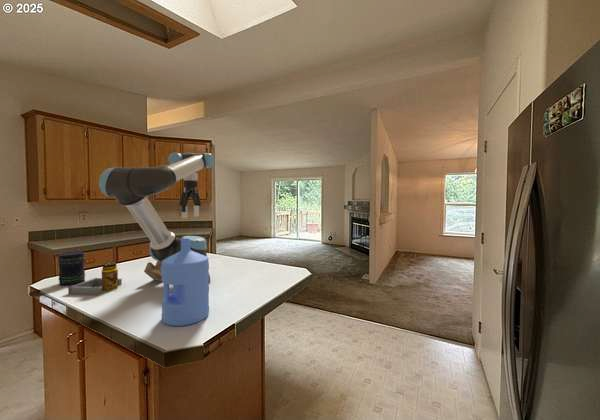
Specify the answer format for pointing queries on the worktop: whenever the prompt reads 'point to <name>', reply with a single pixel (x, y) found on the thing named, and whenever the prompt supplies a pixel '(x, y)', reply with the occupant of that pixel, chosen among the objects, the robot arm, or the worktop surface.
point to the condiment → (109, 277)
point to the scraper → (154, 270)
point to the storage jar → (71, 268)
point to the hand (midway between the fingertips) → (190, 217)
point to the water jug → (185, 287)
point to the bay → (88, 287)
